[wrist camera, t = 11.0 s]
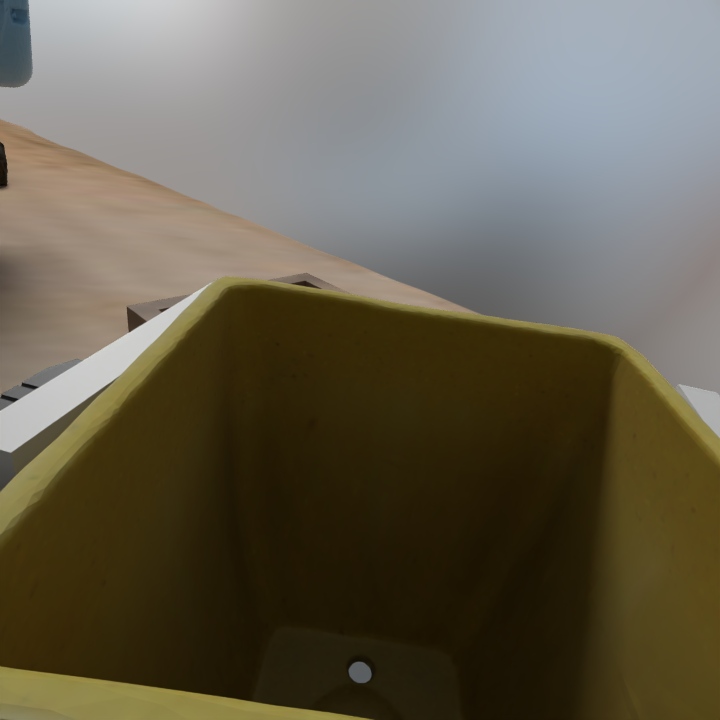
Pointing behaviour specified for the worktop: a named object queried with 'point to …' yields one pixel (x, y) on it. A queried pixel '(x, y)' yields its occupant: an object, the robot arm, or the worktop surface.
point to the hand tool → (3, 165)
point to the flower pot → (366, 526)
